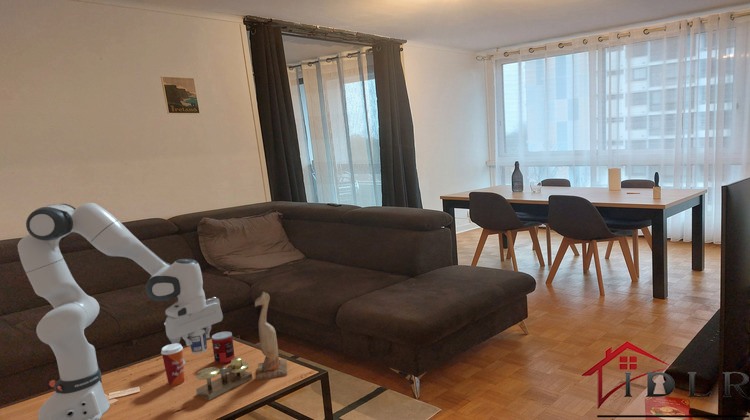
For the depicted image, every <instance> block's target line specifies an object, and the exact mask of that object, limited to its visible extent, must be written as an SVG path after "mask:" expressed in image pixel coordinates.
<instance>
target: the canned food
mask: <svg viewBox="0 0 750 420" xmlns="http://www.w3.org/2000/svg"><path fill="white" fill-rule="evenodd" d="M211 343H212V345H211V346H212V352H213V358H214V362H215V364H217V365H226V364H229V363H230V364H231V359H233V358H235V356H236V355H235V349H234V339H233V333H232V332H231V331H220V332H216V333H215V334H212V335H211Z"/></svg>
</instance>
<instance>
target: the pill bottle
mask: <svg viewBox="0 0 750 420" xmlns="http://www.w3.org/2000/svg"><path fill="white" fill-rule="evenodd" d="M196 330H197V331H194V332H192V333H189V334H188V337H189V338H188V339H190V340H192V345H190V351H191V354H194V355H195V354H196V355H197V354H202V353H205V352H206V351H207V350H208V344H207V343H208V341H207V339H206V335H205V331H206V329H205V328H202V329H201V325H199V326H197V329H196Z"/></svg>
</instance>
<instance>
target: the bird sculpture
mask: <svg viewBox="0 0 750 420" xmlns="http://www.w3.org/2000/svg"><path fill="white" fill-rule="evenodd" d="M270 300H271V297H270V295H269V293H268V292H266V291H262V293H261V294H260V296H259V297H258V298H256V299H255V300H254V307H255V308H257V307H261V308H260V309H261V310H260V314H259V318H258V336H259V345H260V351H261V353H262V354H263V356H265V358H264V360H263V362H258V364H257V373H256V376H257V377H256V378H257V381H262V380H266V379H272V378H279V377H285V376H287V375H288V368H287V364H288V363H287V359H288V358H284V359H282V358H281V359H279V356H280V355H279V347H278V346H279V344H278V339H277V331H276V329H275V327H274V326H273V325H272V324H270V323H269V322H267V315H268V308H269V303H270Z"/></svg>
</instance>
